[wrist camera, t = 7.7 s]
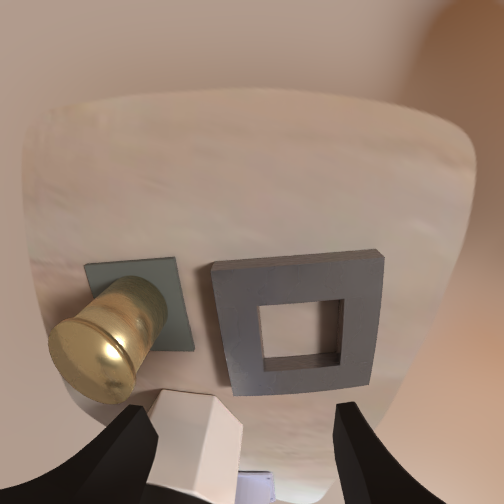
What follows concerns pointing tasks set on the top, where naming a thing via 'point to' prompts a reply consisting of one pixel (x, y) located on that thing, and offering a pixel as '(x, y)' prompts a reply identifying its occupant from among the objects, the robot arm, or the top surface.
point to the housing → (299, 291)
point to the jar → (193, 450)
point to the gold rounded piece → (109, 339)
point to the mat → (166, 281)
